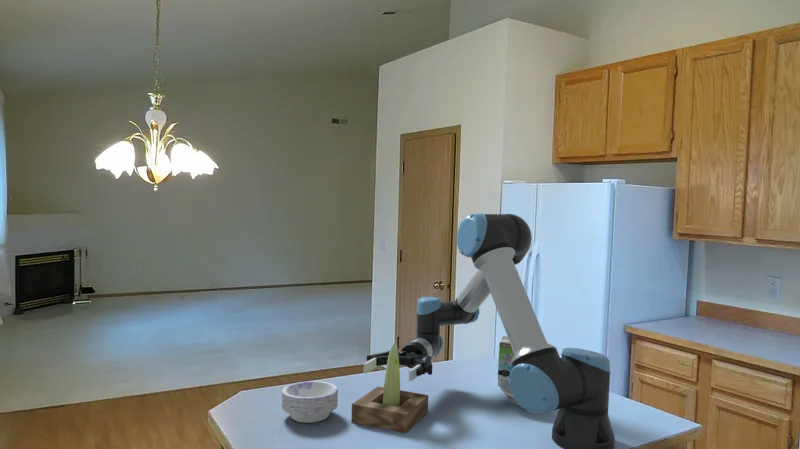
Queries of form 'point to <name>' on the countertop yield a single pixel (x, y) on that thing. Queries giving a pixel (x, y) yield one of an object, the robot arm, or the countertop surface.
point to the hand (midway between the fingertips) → (386, 372)
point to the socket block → (390, 410)
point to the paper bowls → (309, 400)
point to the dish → (507, 391)
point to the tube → (392, 379)
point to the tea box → (504, 360)
